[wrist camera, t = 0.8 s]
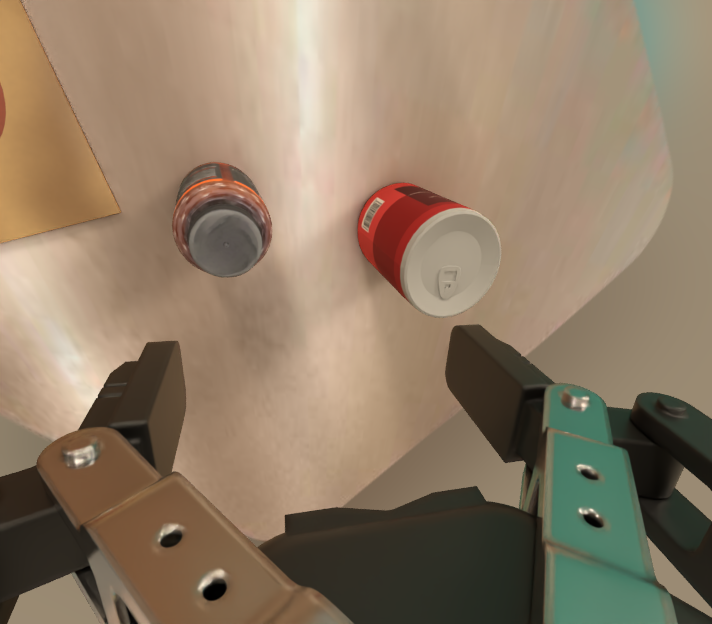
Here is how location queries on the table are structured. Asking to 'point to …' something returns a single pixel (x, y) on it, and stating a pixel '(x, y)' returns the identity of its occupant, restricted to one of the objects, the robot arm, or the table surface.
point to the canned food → (429, 248)
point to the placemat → (41, 141)
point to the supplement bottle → (221, 220)
